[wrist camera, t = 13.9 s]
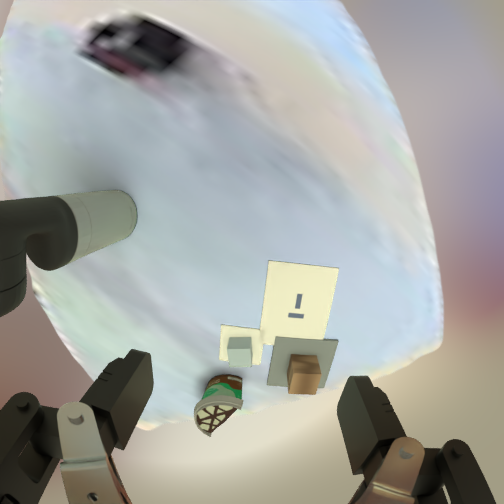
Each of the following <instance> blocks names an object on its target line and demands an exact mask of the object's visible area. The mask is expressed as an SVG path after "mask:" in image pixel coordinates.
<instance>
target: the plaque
mask: <svg viewBox="0 0 504 504" xmlns="http://www.w3.org/2000/svg"><path fill="white" fill-rule="evenodd" d="M262 331H263V330H262ZM259 332H260V329H254V328H245V327H237V326H229V325H221V337H220V353H219V360H223V361H228V354H227V346H228V342H229V338H230V337H251V340H252V351H253V358H252V364H255V365H260V362H261V356H262V350H263V344H258V340H259V339H260V338H259ZM264 335H265V334H264ZM264 335H263V336H264ZM260 337H262V335H261V336H260ZM263 339H264V338H263ZM260 341H261V339H260ZM263 341H264V340H263Z"/></svg>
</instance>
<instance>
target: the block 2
mask: <svg viewBox="0 0 504 504" xmlns="http://www.w3.org/2000/svg"><path fill="white" fill-rule="evenodd" d="M321 375H322V373H321V370H320V366H319V362H318V359H317V355H299V354H291V357H290V361H289V366H288V370H287V382H288V393H289V394H312V395H315V394H316V391H317V388H318V385H319V382H320V378H321Z"/></svg>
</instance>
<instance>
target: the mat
mask: <svg viewBox="0 0 504 504" xmlns="http://www.w3.org/2000/svg"><path fill="white" fill-rule="evenodd" d="M337 345H338V340H333V339H323V340H318V339H303V338H290V337H278V336H276V337H275V343H274V347H273V353H272V359H271V364H270V370H269V375H268V380H267V385H269V386H283V387H288V382H287V370H288V366H289V361H290V357H291V354H299V355H317V359H318V362H319V366H320V370H321V373H322V375H321V378H320V382H319V385H318V388H324V386H325V383H326V380H327V377H328V374H329V371H330V368H331V365H332V361H333V358H334V355H335V351H336V348H337Z"/></svg>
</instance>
